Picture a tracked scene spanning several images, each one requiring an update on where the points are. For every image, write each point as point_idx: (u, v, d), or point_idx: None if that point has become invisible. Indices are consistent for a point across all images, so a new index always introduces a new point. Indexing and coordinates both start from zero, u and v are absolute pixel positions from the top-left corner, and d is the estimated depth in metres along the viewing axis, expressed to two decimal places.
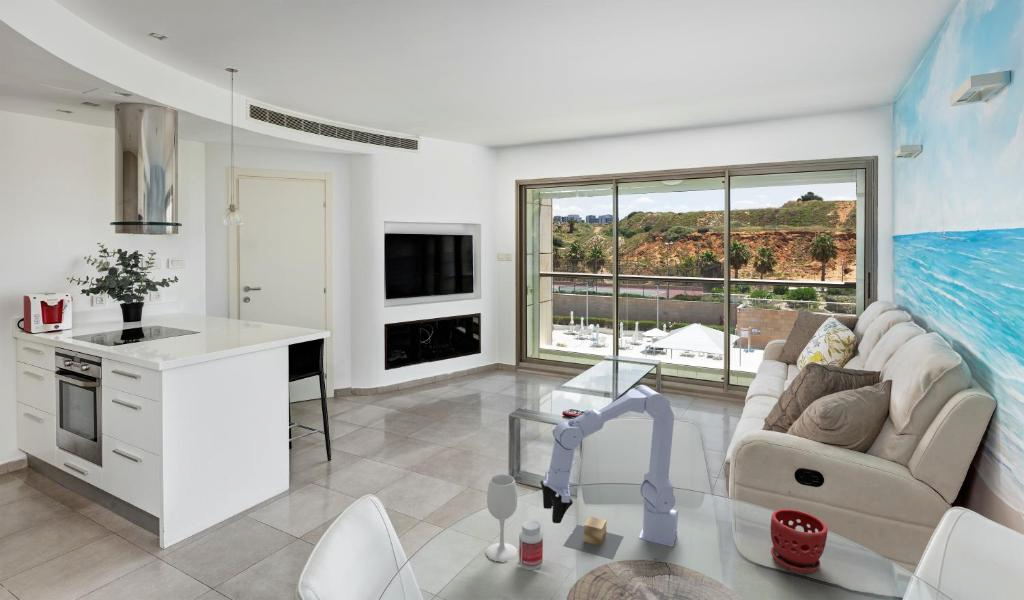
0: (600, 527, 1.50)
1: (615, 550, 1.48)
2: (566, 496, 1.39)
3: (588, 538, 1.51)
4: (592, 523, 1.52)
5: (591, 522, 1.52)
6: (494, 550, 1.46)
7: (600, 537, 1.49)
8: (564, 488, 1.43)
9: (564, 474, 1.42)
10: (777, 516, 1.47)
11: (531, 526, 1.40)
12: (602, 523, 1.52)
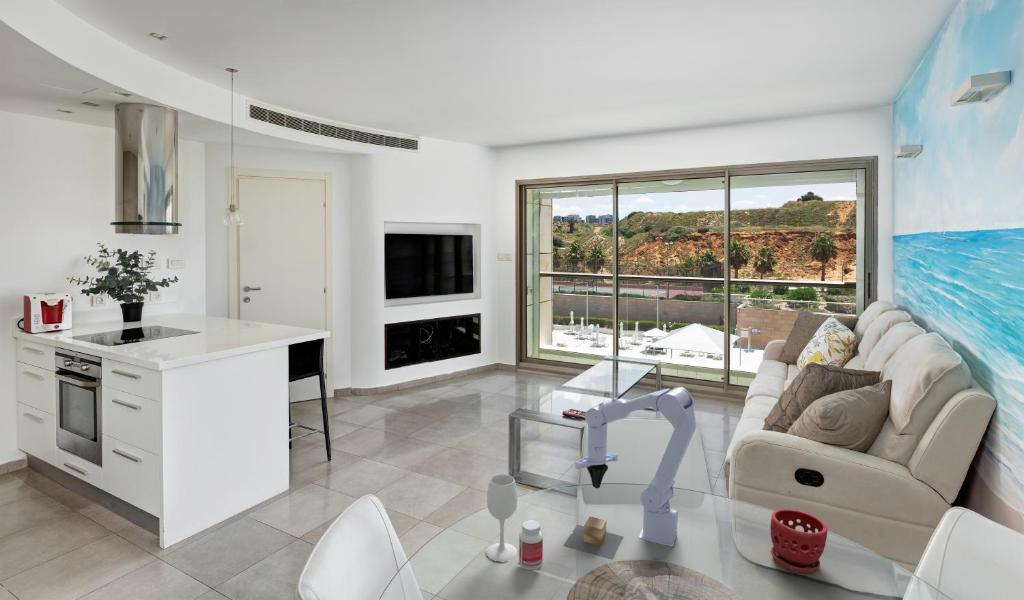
0: (600, 527, 1.50)
1: (615, 550, 1.48)
2: (577, 463, 1.62)
3: (588, 538, 1.51)
4: (592, 523, 1.52)
5: (591, 522, 1.52)
6: (494, 550, 1.46)
7: (600, 537, 1.49)
8: (591, 461, 1.63)
9: (589, 448, 1.63)
10: (777, 516, 1.47)
11: (531, 526, 1.40)
12: (602, 523, 1.52)
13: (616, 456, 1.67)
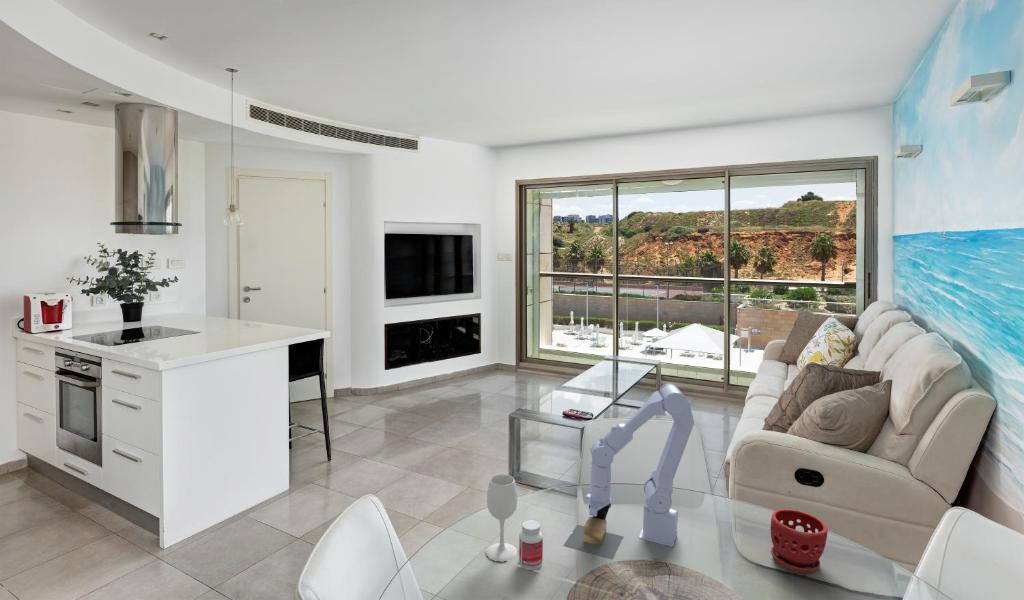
0: (600, 527, 1.50)
1: (615, 550, 1.48)
2: (592, 510, 1.49)
3: (588, 538, 1.51)
4: (592, 523, 1.52)
5: (591, 522, 1.52)
6: (494, 550, 1.46)
7: (600, 537, 1.49)
8: (600, 503, 1.52)
9: (597, 489, 1.52)
10: (777, 516, 1.47)
11: (530, 526, 1.40)
12: (602, 523, 1.52)
13: None
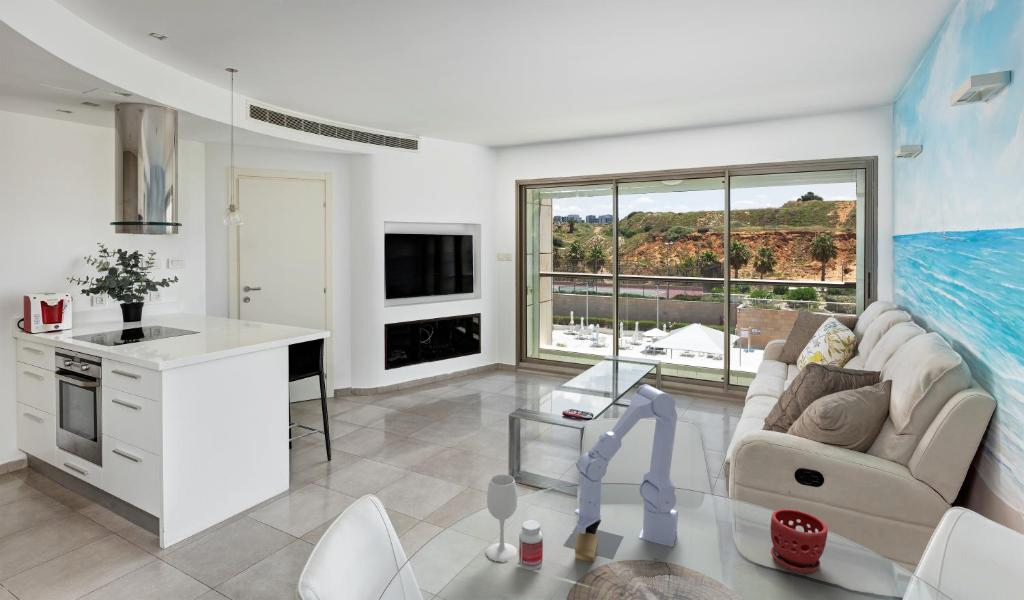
0: (592, 547, 1.41)
1: (615, 550, 1.48)
2: (580, 527, 1.40)
3: (579, 557, 1.43)
4: (582, 542, 1.43)
5: (581, 540, 1.43)
6: (494, 550, 1.46)
7: (592, 556, 1.42)
8: (589, 519, 1.44)
9: (586, 505, 1.43)
10: (777, 516, 1.47)
11: (531, 526, 1.40)
12: (593, 540, 1.43)
13: None
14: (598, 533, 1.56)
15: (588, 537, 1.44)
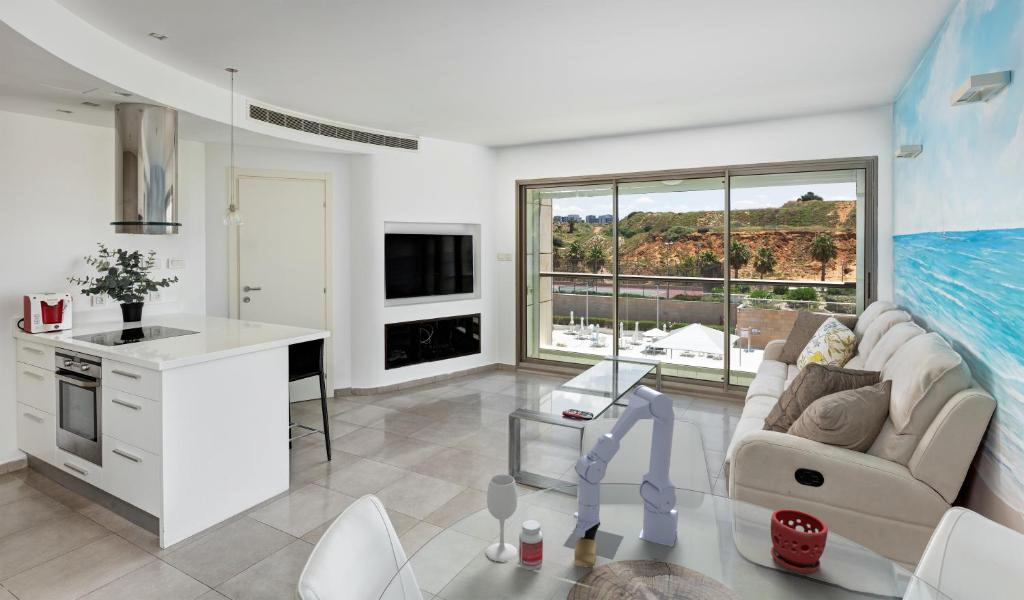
0: (592, 551, 1.39)
1: (615, 550, 1.48)
2: (579, 530, 1.39)
3: (579, 563, 1.41)
4: (582, 547, 1.41)
5: (581, 545, 1.41)
6: (494, 550, 1.46)
7: (593, 561, 1.39)
8: (588, 523, 1.42)
9: (585, 508, 1.42)
10: (777, 516, 1.47)
11: (531, 526, 1.40)
12: (593, 545, 1.42)
13: None
14: (598, 533, 1.56)
15: (587, 542, 1.43)
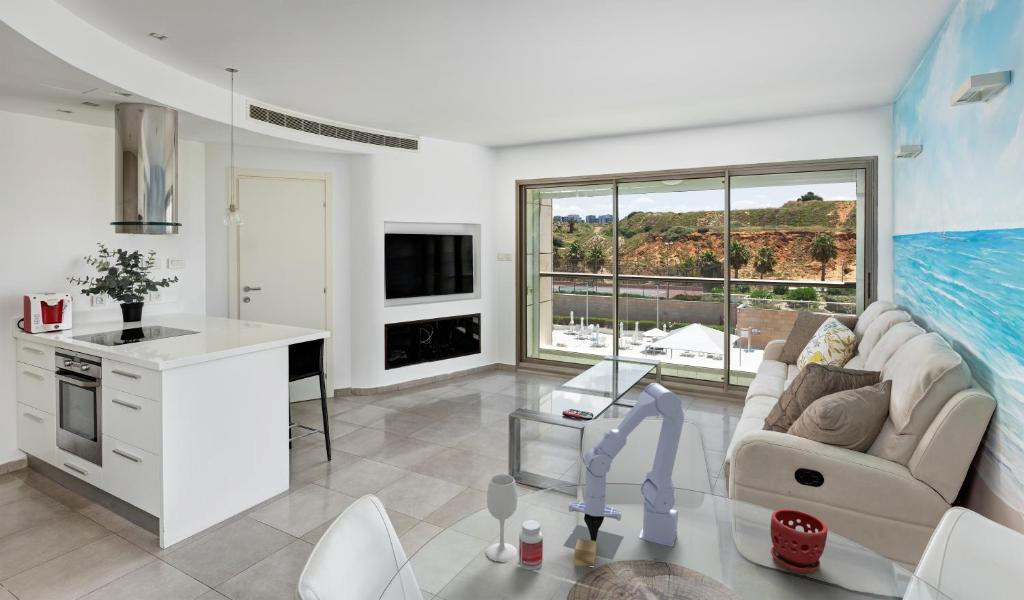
0: (593, 550, 1.40)
1: (615, 550, 1.48)
2: (569, 504, 1.53)
3: (579, 563, 1.41)
4: (582, 546, 1.41)
5: (581, 545, 1.42)
6: (494, 550, 1.46)
7: (593, 561, 1.40)
8: (584, 508, 1.51)
9: None
10: (777, 516, 1.47)
11: (531, 526, 1.40)
12: (593, 545, 1.42)
13: (618, 515, 1.48)
14: (598, 533, 1.56)
15: (588, 543, 1.43)
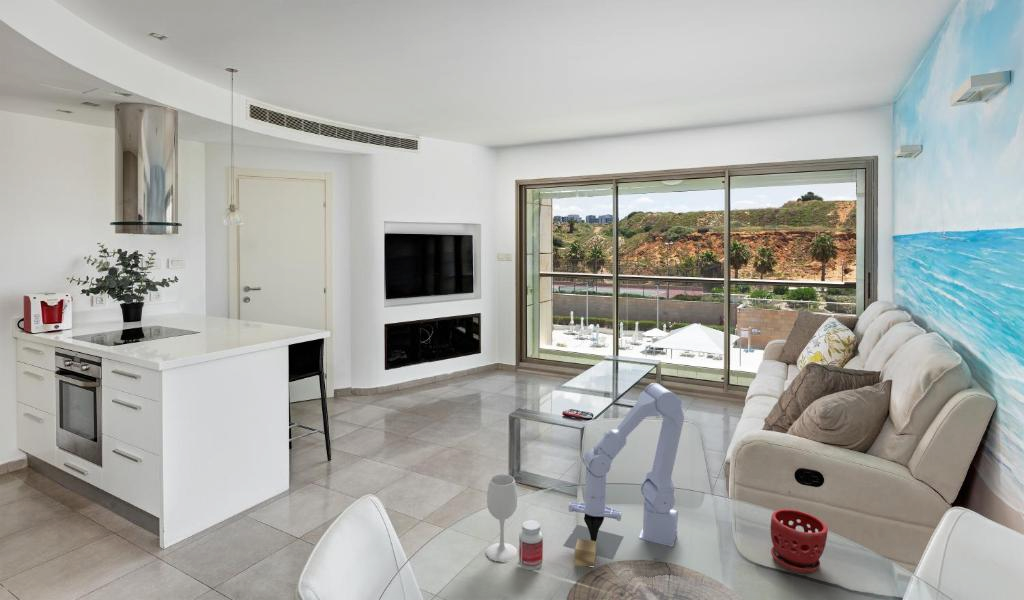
0: (593, 550, 1.40)
1: (615, 550, 1.48)
2: (569, 504, 1.53)
3: (579, 563, 1.41)
4: (582, 546, 1.41)
5: (581, 545, 1.42)
6: (494, 550, 1.46)
7: (593, 561, 1.40)
8: (584, 508, 1.51)
9: None
10: (777, 516, 1.47)
11: (531, 526, 1.40)
12: (593, 545, 1.42)
13: (618, 515, 1.48)
14: (598, 533, 1.56)
15: (588, 543, 1.43)
